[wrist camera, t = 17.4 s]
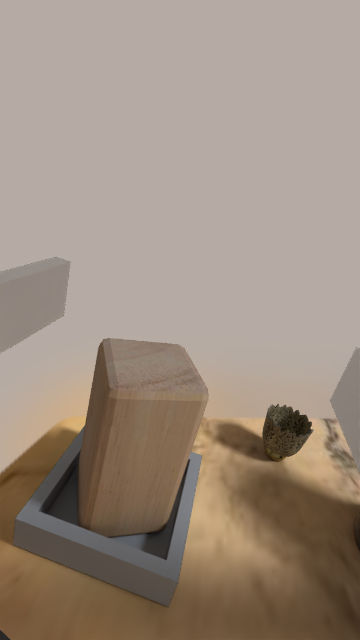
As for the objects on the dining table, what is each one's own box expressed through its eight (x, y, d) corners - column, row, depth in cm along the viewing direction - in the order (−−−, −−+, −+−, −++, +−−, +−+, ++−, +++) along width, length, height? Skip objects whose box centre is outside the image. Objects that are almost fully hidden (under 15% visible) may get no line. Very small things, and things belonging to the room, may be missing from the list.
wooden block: (76, 469, 44) (99, 333, 36) (150, 465, 47) (184, 341, 40) (76, 546, 35) (107, 388, 28) (166, 535, 38) (215, 392, 31)
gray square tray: (195, 476, 48) (202, 455, 47) (168, 607, 33) (178, 582, 31) (87, 438, 50) (91, 417, 49) (12, 544, 34) (15, 518, 33)
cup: (254, 433, 61) (268, 397, 58) (294, 448, 60) (311, 412, 57) (251, 461, 54) (268, 422, 51) (296, 479, 53) (316, 440, 50)
